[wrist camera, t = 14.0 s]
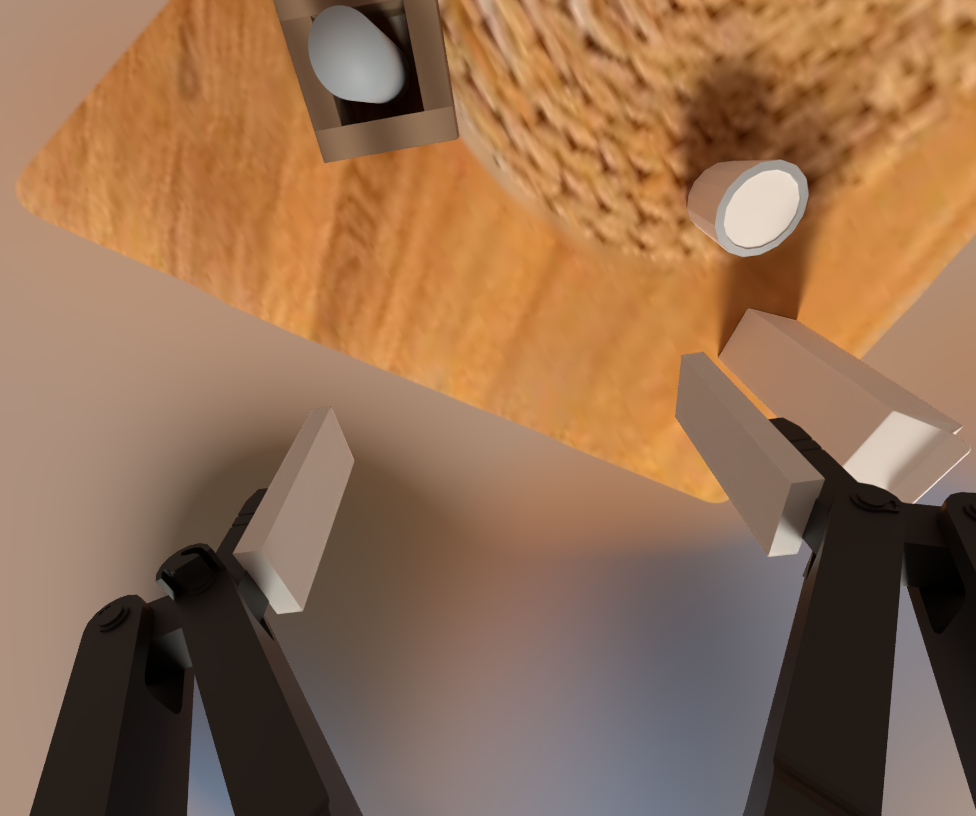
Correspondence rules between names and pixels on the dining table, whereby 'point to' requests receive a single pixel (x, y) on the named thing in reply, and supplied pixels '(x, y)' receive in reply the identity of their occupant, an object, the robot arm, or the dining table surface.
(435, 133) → the socket
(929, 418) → the milk
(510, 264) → the dining table surface
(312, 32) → the grey cylinder
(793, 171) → the grey and white cylinder
